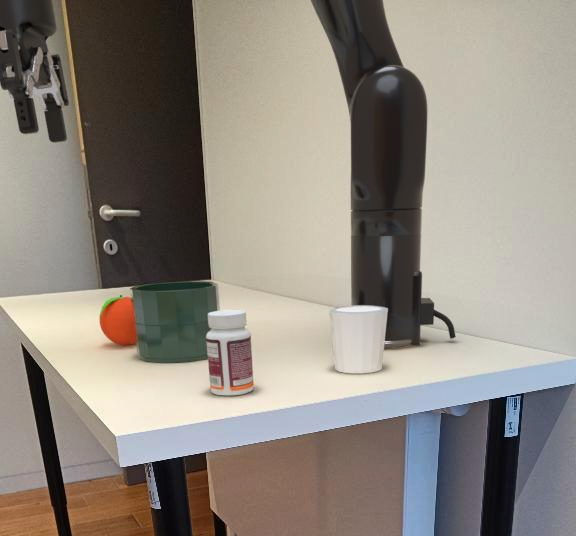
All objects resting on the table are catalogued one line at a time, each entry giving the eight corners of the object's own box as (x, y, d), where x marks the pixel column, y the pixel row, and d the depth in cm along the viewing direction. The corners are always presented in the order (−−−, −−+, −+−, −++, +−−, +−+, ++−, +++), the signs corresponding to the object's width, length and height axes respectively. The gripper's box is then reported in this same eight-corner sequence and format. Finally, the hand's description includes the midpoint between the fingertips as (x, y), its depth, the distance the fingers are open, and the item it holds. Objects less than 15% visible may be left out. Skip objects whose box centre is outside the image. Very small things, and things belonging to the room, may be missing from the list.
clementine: (122, 351, 106) (116, 299, 103) (87, 348, 109) (80, 298, 107) (159, 342, 112) (154, 292, 109) (125, 339, 116) (119, 291, 113)
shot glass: (392, 363, 92) (393, 304, 89) (380, 375, 86) (381, 313, 83) (338, 361, 94) (338, 304, 91) (322, 373, 88) (321, 312, 85)
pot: (227, 345, 108) (222, 280, 104) (215, 361, 97) (210, 289, 94) (149, 347, 108) (142, 282, 105) (128, 363, 98) (120, 292, 94)
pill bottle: (256, 385, 84) (252, 308, 80) (250, 396, 79) (245, 314, 76) (214, 386, 84) (209, 309, 81) (206, 396, 80) (199, 316, 77)
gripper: (19, -37, 83) (49, 126, 88) (70, 0, 96) (93, 141, 101) (-44, -27, 84) (-11, 134, 89) (15, 9, 97) (41, 147, 102)
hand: (44, 137), depth 95 cm, fingers open, 8 cm apart
